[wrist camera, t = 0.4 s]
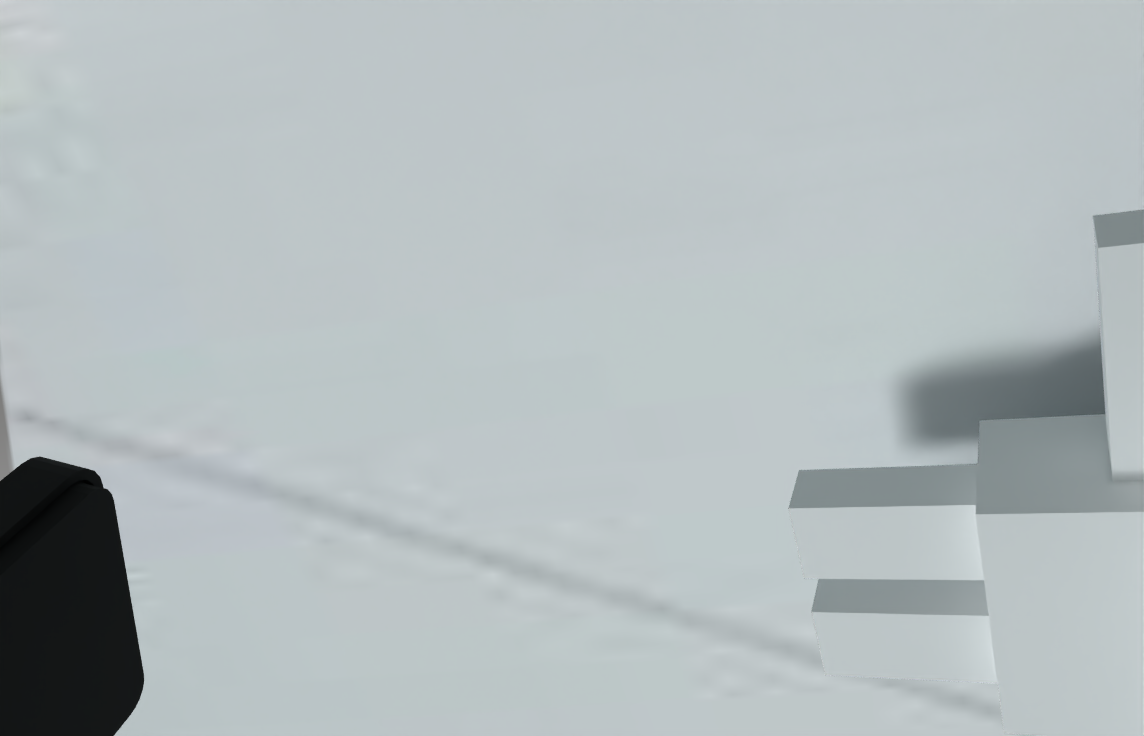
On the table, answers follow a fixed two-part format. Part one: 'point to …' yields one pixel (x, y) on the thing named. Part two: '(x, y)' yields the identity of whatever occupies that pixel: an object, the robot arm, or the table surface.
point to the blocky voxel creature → (1004, 547)
